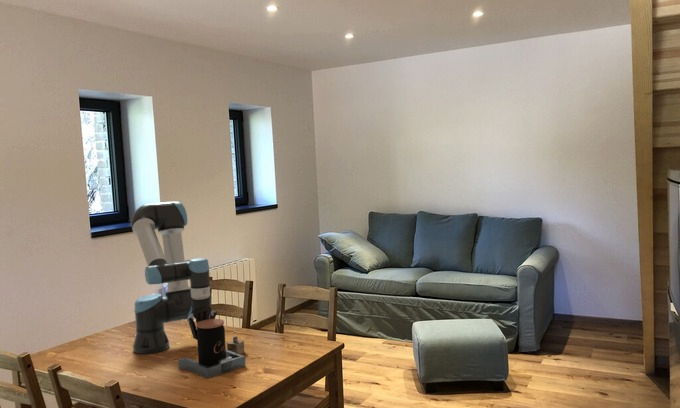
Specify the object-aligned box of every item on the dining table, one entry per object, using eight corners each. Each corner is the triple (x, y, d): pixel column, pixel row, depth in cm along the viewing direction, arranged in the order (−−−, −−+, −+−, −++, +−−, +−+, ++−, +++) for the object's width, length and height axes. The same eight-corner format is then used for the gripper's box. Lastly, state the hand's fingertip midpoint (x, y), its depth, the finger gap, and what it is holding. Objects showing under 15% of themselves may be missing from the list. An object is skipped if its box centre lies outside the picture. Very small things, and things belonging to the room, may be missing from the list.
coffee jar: (218, 373, 216) (215, 326, 215) (193, 371, 220) (190, 325, 218) (231, 363, 227) (229, 319, 225) (208, 361, 230) (205, 318, 229)
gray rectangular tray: (178, 368, 223) (177, 355, 222) (222, 355, 237) (222, 342, 237) (203, 380, 209) (202, 366, 209) (249, 364, 224) (248, 352, 224)
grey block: (227, 355, 237) (226, 337, 237) (234, 351, 242) (233, 334, 241) (237, 356, 235) (236, 338, 235) (244, 352, 240) (243, 335, 239)
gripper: (191, 301, 219) (194, 361, 221) (219, 295, 228) (223, 352, 230) (181, 299, 224) (184, 357, 226) (209, 293, 234) (213, 348, 235)
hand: (204, 354), depth 228 cm, fingers closed
